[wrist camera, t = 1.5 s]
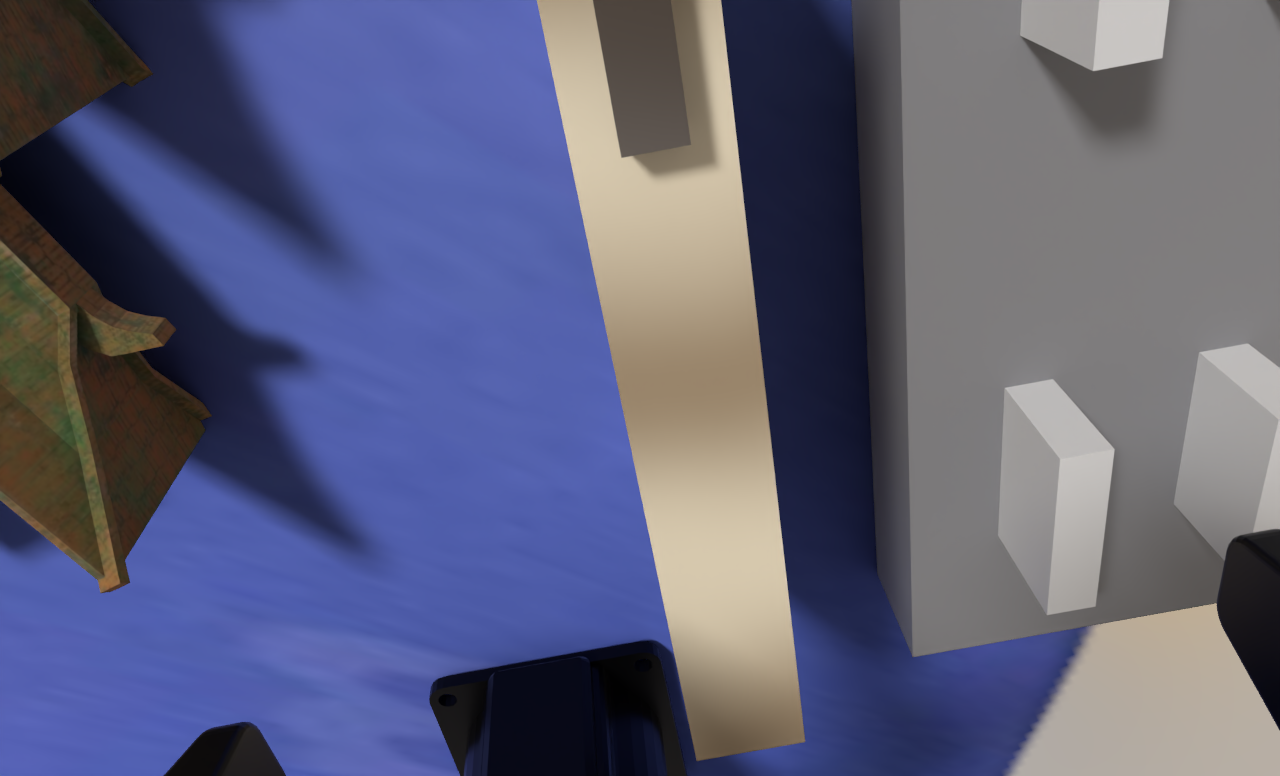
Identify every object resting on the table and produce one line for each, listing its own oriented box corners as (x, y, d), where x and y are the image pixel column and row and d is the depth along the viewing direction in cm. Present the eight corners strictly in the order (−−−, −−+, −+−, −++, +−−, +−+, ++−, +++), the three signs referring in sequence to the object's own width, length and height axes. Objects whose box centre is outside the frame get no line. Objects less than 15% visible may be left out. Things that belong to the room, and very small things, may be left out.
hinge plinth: (1205, 514, 26) (1349, 671, 21) (877, 573, 26) (948, 742, 21) (1421, -608, 14) (1843, -808, 10) (829, -490, 14) (962, -629, 10)
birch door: (733, 477, 24) (813, 770, 17) (655, 491, 24) (701, 789, 17) (624, -285, 16) (688, -362, 8) (505, -262, 16) (467, -319, 8)
